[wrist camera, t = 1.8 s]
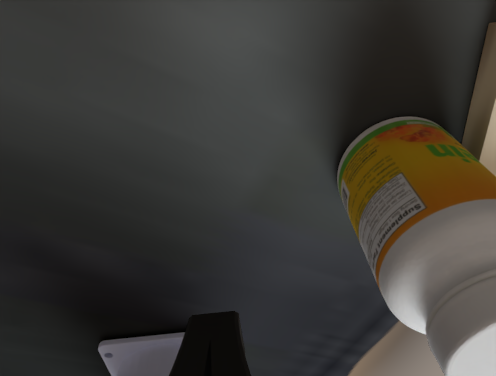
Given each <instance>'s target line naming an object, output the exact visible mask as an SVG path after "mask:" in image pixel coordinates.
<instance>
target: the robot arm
mask: <svg viewBox="0 0 496 376" xmlns="http://www.w3.org/2000/svg"><path fill="white" fill-rule="evenodd" d="M98 351H99V353H100V355H101V357H102V359H103V361H104V363H105V365H106V367H107V368H108V370H109V372H110V374H111V376H251V374H250V371H249V368H248V365H247V361H246V357H245V348H244V343H243V337H242V331H241V325H240V320H239V314H238V313H237V312H235V311H229V312H219V313H210V314H200V315H192V316H191V317H190V318H189V321H188V324H187V328H186V331H185V332H182V333H172V334H162V335H152V336H142V337H132V338H123V339H113V340H105V341H102V342H100V344H99V347H98Z"/></svg>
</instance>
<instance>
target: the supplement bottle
mask: <svg viewBox="0 0 496 376" xmlns="http://www.w3.org/2000/svg"><path fill="white" fill-rule="evenodd" d="M337 185H338V190H339V193H340V196H341V199H342V201H343V204H344V207H345V209H346V211H347V213H348V216H349V218H350V220H351V223H352V225H353V227H354V230H355V232H356V234H357V237H358V239H359V242H360V244H361V246H362V249H363V251H364V253H365V256H366V258H367V260H368V263H369V265H370V267H371V270H372V272H373V275H374V277H375V279H376V282H377V284H378V286H379V289H380V291H381V294H382V296H383V298H384V299H385V301H386V303H387V305H388V307H389V309H390V310H391V311H392V313H393V314H394V315H395V316H396V317H397V318H398V319H399V320H400V321H401V322H402V323H404V324H405V325H406V326H408V327H410V328H412V329H413V330H416V331H418V332H420V333H423V334H426V336H427V339H428V344H429V347H430V349H431V351H432V353H433V354H434V356H435V358H436V360H437V362H438V363H439V365H440V367H441V369H442V371H443V373H444V375H445V376H496V176H495V175H494V174H492V173H491V172H490V171H489V170H488V169H487V168H486V167H485V166H484V165H483V164H481V163H480V162H479V161H478V160H477V159H476V158H475V157H474V156H473V155H472V154H471V153H470V152H469V151H468V150H466V149H465V148H464V147H463V146H462V145H461V144H460V143H459V142H458V141H457V140H456V139H455V138H454V137H453V136H451V135H450V134H449V133H448V132H447V131H446V130H444V129H443V128H442V127H441V126H439V125H438V124H436V123H434V122H432V121H430V120H427V119H424V118H419V117H411V116H407V117H396V118H392V119H388V120H385V121H382V122H380V123H377V124H375V125H373V126H371V127H370V128H368V129H367V130H365V131H364V132H362V133H361V134H360V135H359V136H358V137H357V138H356V139H355V140H354V141H353V142H352V143H351V144H350V145H349V147H348V148H347V149H346V151H345V153H344V154H343V156H342V158H341V161H340V164H339V167H338V173H337Z"/></svg>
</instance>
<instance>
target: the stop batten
mask: <svg viewBox="0 0 496 376" xmlns="http://www.w3.org/2000/svg"><path fill="white" fill-rule="evenodd" d="M461 145H462V146H463V147H464V148H465V149H466V150H468V151H469V152H470V153H471V154H472V155H473V156H474V157H475V158H476V159H477V160H478V161H479V162H480V163H481V164H483V165H484V166H485V167H486V168H487V169H488V170H489V171H490V172H491V173H492V174H494V175H495V176H496V22H493V23H489V25H488V29H487V34H486V38H485V43H484V47H483V51H482V56H481V60H480V65H479V69H478V74H477V78H476V82H475V87H474V91H473V96H472V100H471V104H470V109H469V113H468V118H467V122H466V126H465V131H464V135H463V140H462V144H461Z"/></svg>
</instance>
